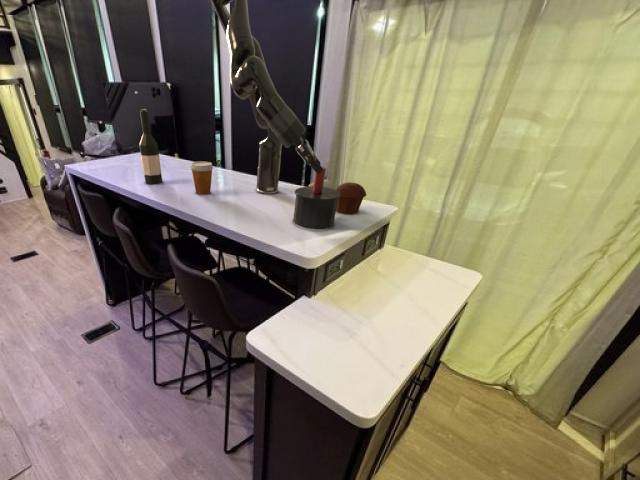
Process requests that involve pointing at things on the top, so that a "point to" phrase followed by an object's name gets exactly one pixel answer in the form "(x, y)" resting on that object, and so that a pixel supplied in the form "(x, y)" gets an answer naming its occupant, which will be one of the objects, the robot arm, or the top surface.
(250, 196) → the top surface
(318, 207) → the pot
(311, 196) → the lid
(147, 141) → the wine bottle
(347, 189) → the muffin
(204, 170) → the disposable coffee cup
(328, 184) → the ceramic mug
